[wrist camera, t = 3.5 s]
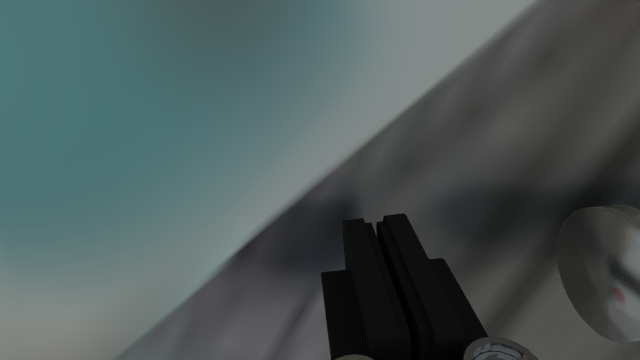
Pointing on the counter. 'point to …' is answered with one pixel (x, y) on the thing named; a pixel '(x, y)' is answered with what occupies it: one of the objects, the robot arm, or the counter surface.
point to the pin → (603, 268)
